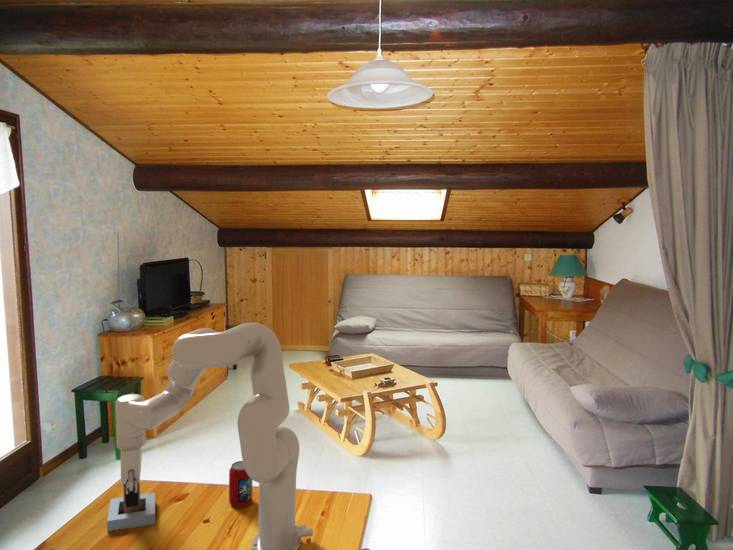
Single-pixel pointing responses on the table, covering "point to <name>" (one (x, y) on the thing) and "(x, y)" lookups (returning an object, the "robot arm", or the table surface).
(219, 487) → the table surface
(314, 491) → the table surface
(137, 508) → the walnut peg
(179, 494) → the table surface
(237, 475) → the beverage can
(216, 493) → the table surface
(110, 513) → the grey square frame
